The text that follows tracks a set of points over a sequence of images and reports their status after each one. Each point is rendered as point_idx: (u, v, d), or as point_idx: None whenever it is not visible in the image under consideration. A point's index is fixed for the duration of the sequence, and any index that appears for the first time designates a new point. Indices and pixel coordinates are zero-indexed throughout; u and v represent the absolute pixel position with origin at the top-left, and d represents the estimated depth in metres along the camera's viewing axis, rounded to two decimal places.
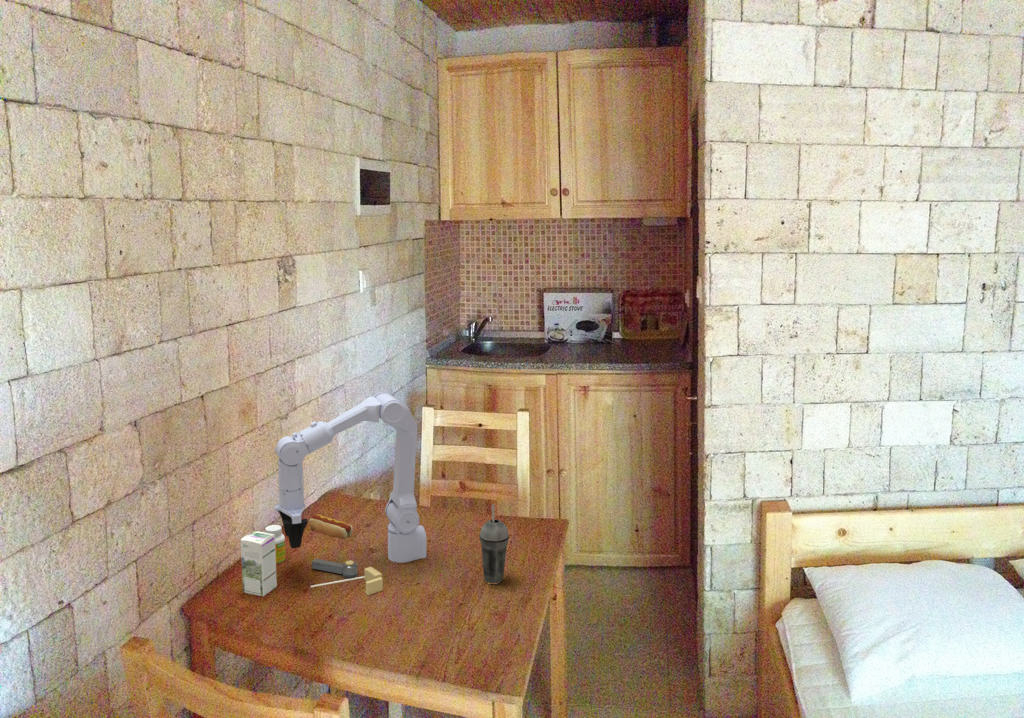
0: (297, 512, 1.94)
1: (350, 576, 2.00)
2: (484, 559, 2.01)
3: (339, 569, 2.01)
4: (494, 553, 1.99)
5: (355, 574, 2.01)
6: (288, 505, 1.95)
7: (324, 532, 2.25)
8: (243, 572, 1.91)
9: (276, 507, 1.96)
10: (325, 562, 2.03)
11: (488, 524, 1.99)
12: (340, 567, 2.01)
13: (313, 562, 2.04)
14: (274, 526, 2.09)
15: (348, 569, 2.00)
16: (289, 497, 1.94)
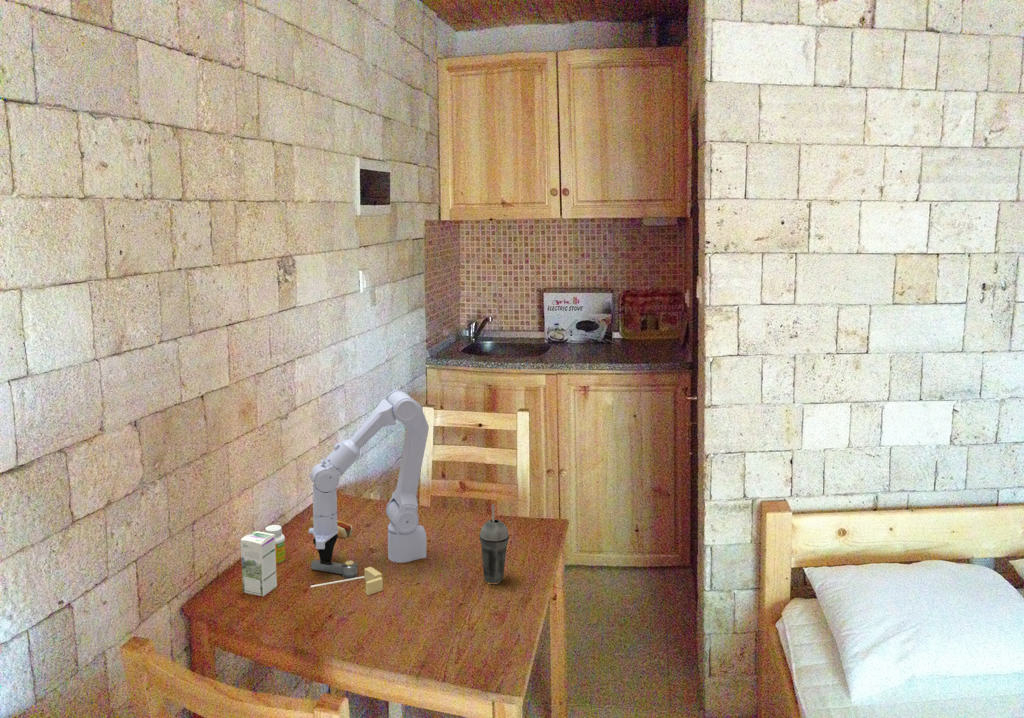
0: (324, 538, 1.99)
1: (350, 576, 2.00)
2: (484, 559, 2.01)
3: (339, 569, 2.01)
4: (494, 553, 1.99)
5: (355, 574, 2.01)
6: (318, 529, 2.01)
7: None
8: (243, 572, 1.91)
9: (310, 530, 2.03)
10: (325, 562, 2.03)
11: (488, 524, 1.99)
12: (340, 567, 2.01)
13: (312, 563, 2.03)
14: (274, 526, 2.09)
15: (348, 569, 2.00)
16: (319, 522, 2.00)
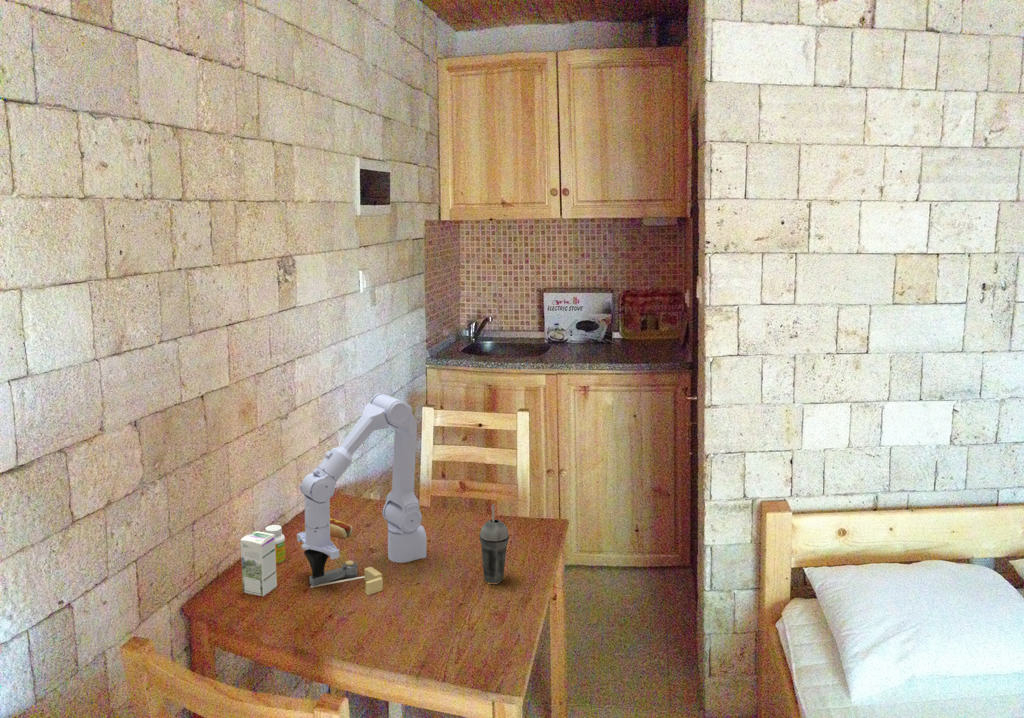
0: (331, 547, 1.94)
1: (356, 574, 2.01)
2: (484, 559, 2.01)
3: (342, 573, 1.99)
4: (494, 553, 1.99)
5: None
6: (319, 542, 1.94)
7: None
8: (243, 572, 1.91)
9: (305, 546, 1.93)
10: (324, 574, 1.97)
11: (488, 524, 1.99)
12: (343, 570, 2.00)
13: (314, 579, 1.95)
14: (274, 526, 2.09)
15: (355, 568, 2.00)
16: (321, 533, 1.93)
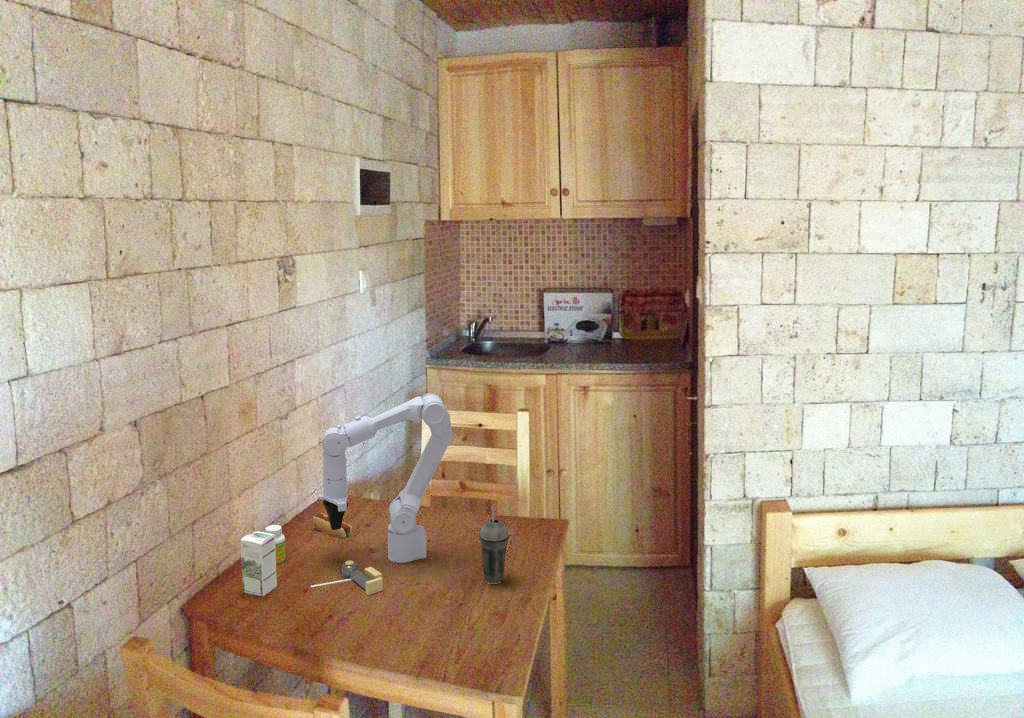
0: (342, 500, 2.02)
1: None
2: (484, 559, 2.01)
3: None
4: (494, 553, 1.99)
5: None
6: (332, 493, 2.03)
7: (325, 531, 2.26)
8: (243, 572, 1.91)
9: (321, 496, 2.04)
10: (363, 576, 1.96)
11: (488, 524, 1.99)
12: None
13: None
14: (274, 526, 2.09)
15: None
16: (334, 486, 2.02)
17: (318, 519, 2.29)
